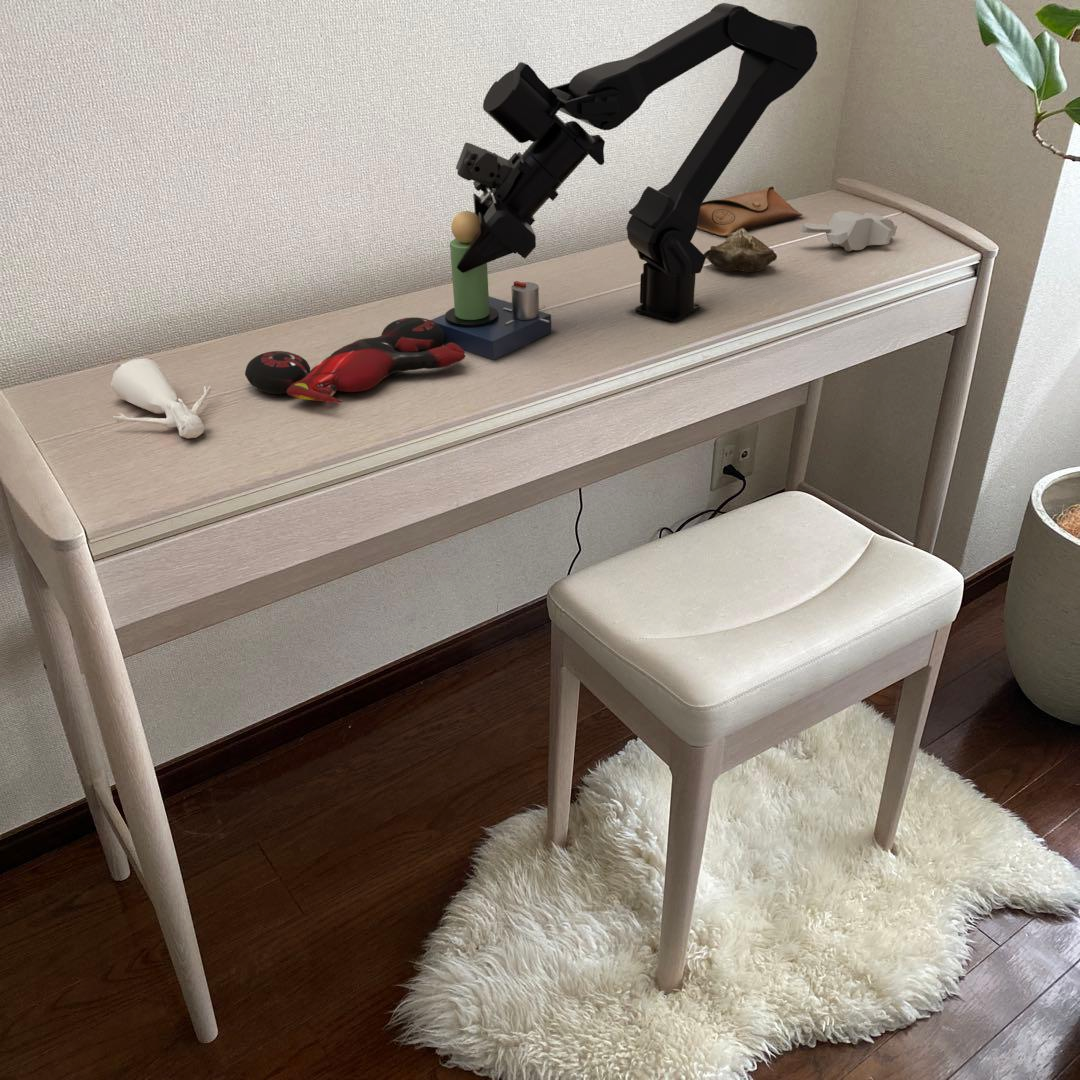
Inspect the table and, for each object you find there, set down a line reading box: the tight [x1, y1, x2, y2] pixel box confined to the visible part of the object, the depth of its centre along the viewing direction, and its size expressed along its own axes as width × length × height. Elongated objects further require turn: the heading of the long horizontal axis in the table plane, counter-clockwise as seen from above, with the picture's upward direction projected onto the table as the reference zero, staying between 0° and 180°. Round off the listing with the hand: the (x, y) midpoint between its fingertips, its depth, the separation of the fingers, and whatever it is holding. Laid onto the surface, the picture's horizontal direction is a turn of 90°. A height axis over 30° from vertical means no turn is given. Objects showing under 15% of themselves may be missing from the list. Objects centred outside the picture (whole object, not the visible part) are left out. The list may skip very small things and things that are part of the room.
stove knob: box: [511, 280, 540, 320], centre depth 134 cm, size 3×3×4 cm
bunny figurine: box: [799, 210, 898, 252], centre depth 162 cm, size 10×5×15 cm
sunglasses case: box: [697, 186, 803, 237], centre depth 174 cm, size 18×7×7 cm
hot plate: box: [430, 295, 552, 361], centre depth 136 cm, size 12×12×3 cm
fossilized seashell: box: [702, 228, 778, 273], centre depth 154 cm, size 8×7×10 cm
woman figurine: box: [110, 357, 212, 440], centre depth 118 cm, size 12×4×18 cm
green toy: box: [449, 210, 490, 320], centre depth 131 cm, size 4×4×13 cm
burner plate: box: [445, 306, 499, 328], centre depth 135 cm, size 7×7×1 cm
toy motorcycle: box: [244, 316, 466, 403], centre depth 125 cm, size 25×5×16 cm
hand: (458, 263), depth 131 cm, fingers closed on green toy, 4 cm apart
